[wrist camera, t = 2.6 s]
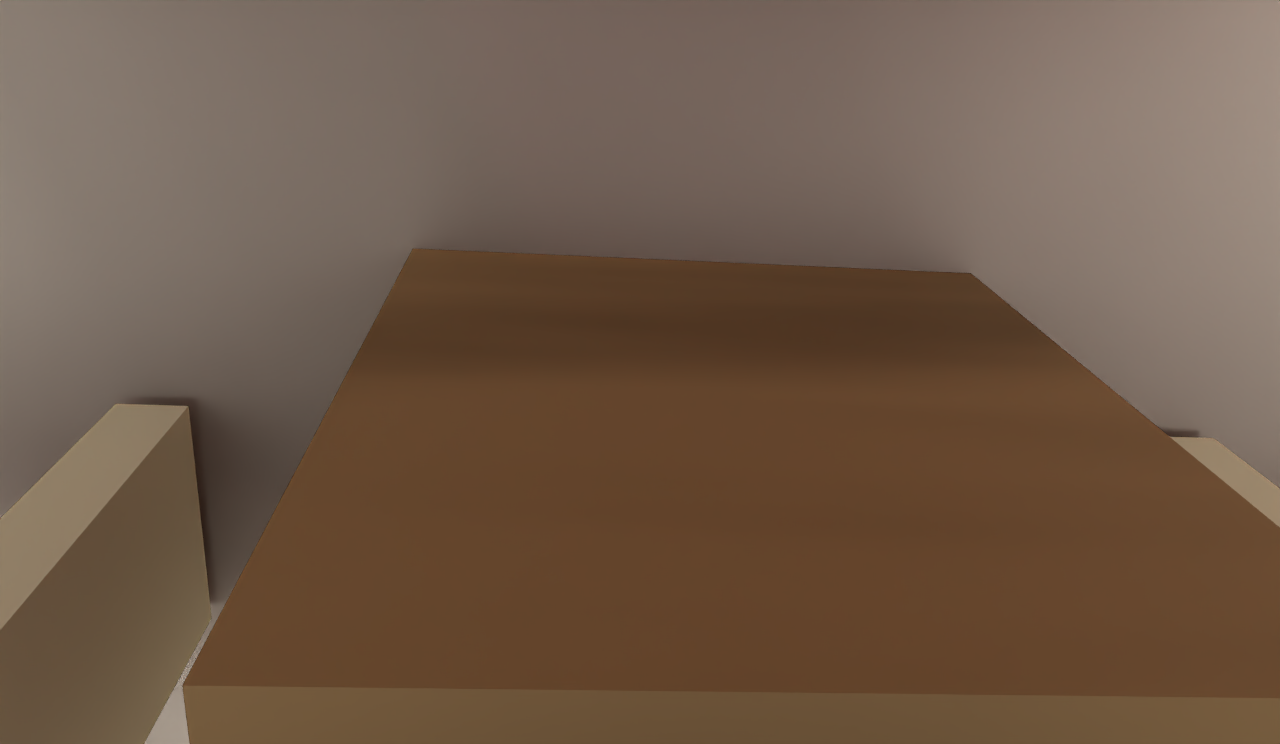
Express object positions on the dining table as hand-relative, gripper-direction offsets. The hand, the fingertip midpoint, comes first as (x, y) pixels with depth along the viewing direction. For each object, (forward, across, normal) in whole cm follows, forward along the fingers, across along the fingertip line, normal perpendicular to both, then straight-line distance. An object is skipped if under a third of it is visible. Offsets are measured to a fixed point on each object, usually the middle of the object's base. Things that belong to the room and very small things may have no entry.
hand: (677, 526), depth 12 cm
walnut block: (0, 0, 0) cm, 0 cm away
